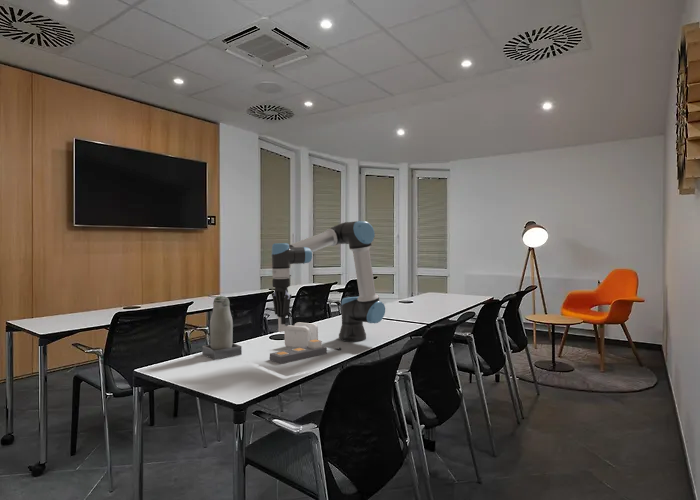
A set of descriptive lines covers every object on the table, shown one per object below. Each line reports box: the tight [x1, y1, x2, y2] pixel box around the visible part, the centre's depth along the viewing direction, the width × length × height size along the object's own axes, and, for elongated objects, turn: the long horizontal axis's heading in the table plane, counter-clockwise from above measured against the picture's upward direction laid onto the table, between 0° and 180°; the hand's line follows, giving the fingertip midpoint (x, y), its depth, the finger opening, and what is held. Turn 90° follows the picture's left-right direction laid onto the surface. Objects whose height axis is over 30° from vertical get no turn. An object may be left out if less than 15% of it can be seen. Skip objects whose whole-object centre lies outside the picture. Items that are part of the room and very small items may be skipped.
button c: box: [274, 351, 289, 356], centre depth 189 cm, size 4×4×3 cm
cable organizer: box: [284, 321, 319, 348], centre depth 217 cm, size 15×11×12 cm
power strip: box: [269, 345, 342, 365], centre depth 199 cm, size 37×9×4 cm, turn 131°
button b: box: [291, 347, 306, 352], centre depth 195 cm, size 4×4×3 cm
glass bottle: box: [209, 295, 234, 350], centre depth 205 cm, size 10×10×28 cm
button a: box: [308, 339, 323, 349], centre depth 201 cm, size 4×4×3 cm
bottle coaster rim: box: [201, 342, 243, 361], centre depth 205 cm, size 14×14×4 cm
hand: (282, 331), depth 189 cm, fingers closed
